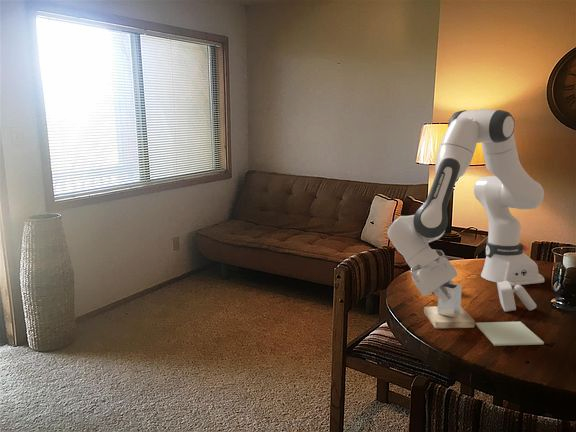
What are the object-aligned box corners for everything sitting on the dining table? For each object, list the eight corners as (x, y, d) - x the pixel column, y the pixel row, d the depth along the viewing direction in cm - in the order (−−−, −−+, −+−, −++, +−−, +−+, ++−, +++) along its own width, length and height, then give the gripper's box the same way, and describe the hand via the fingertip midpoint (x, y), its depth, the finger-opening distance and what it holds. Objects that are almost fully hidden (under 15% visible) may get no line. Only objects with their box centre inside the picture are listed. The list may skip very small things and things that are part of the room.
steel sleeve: (437, 313, 160) (438, 286, 158) (444, 308, 164) (445, 281, 162) (453, 317, 157) (455, 290, 155) (460, 312, 161) (461, 285, 159)
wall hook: (540, 313, 163) (535, 284, 161) (506, 318, 166) (500, 289, 164) (533, 303, 171) (528, 275, 169) (501, 308, 173) (496, 281, 172)
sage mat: (520, 323, 158) (520, 321, 157) (543, 344, 144) (543, 342, 144) (475, 324, 157) (475, 322, 157) (494, 345, 143) (494, 343, 143)
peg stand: (460, 311, 167) (462, 285, 165) (474, 327, 155) (476, 299, 153) (423, 312, 167) (425, 286, 165) (435, 328, 155) (436, 300, 153)
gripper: (415, 264, 153) (444, 303, 149) (444, 249, 168) (471, 283, 164) (401, 275, 157) (429, 313, 153) (430, 259, 172) (457, 293, 168)
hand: (451, 297), depth 159 cm, fingers closed on steel sleeve, 5 cm apart
